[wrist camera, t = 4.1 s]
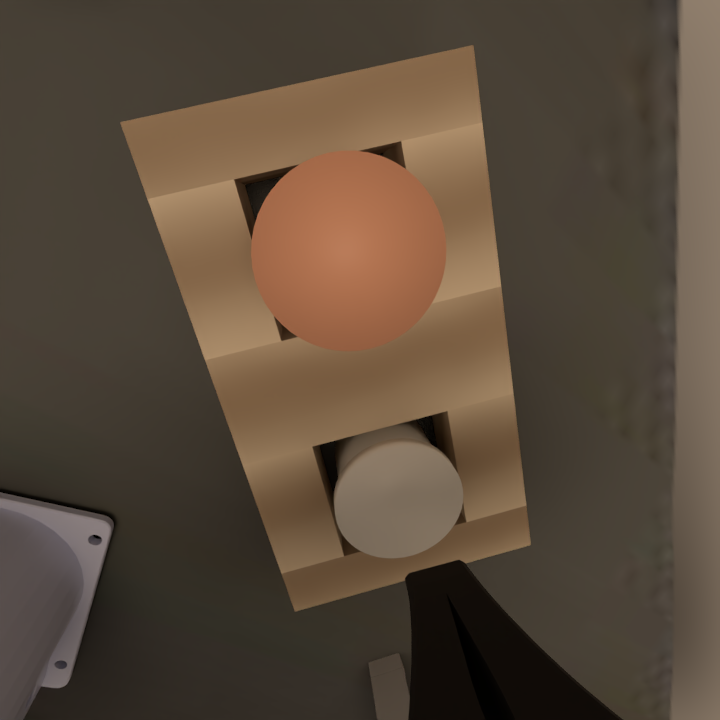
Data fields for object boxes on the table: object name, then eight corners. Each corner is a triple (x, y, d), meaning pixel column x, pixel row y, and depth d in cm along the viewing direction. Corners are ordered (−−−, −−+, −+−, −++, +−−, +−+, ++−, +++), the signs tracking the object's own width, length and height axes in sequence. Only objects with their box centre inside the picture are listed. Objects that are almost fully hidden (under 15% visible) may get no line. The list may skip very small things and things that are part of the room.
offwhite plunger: (439, 478, 21) (471, 539, 17) (341, 505, 20) (351, 572, 17) (422, 387, 19) (453, 431, 15) (315, 415, 19) (320, 466, 15)
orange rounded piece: (419, 297, 15) (459, 326, 12) (285, 330, 15) (282, 371, 11) (392, 151, 14) (429, 129, 10) (244, 185, 14) (224, 176, 10)
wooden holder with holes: (500, 501, 22) (530, 544, 19) (295, 557, 21) (294, 611, 18) (441, 74, 16) (473, 45, 13) (153, 138, 15) (120, 122, 12)
